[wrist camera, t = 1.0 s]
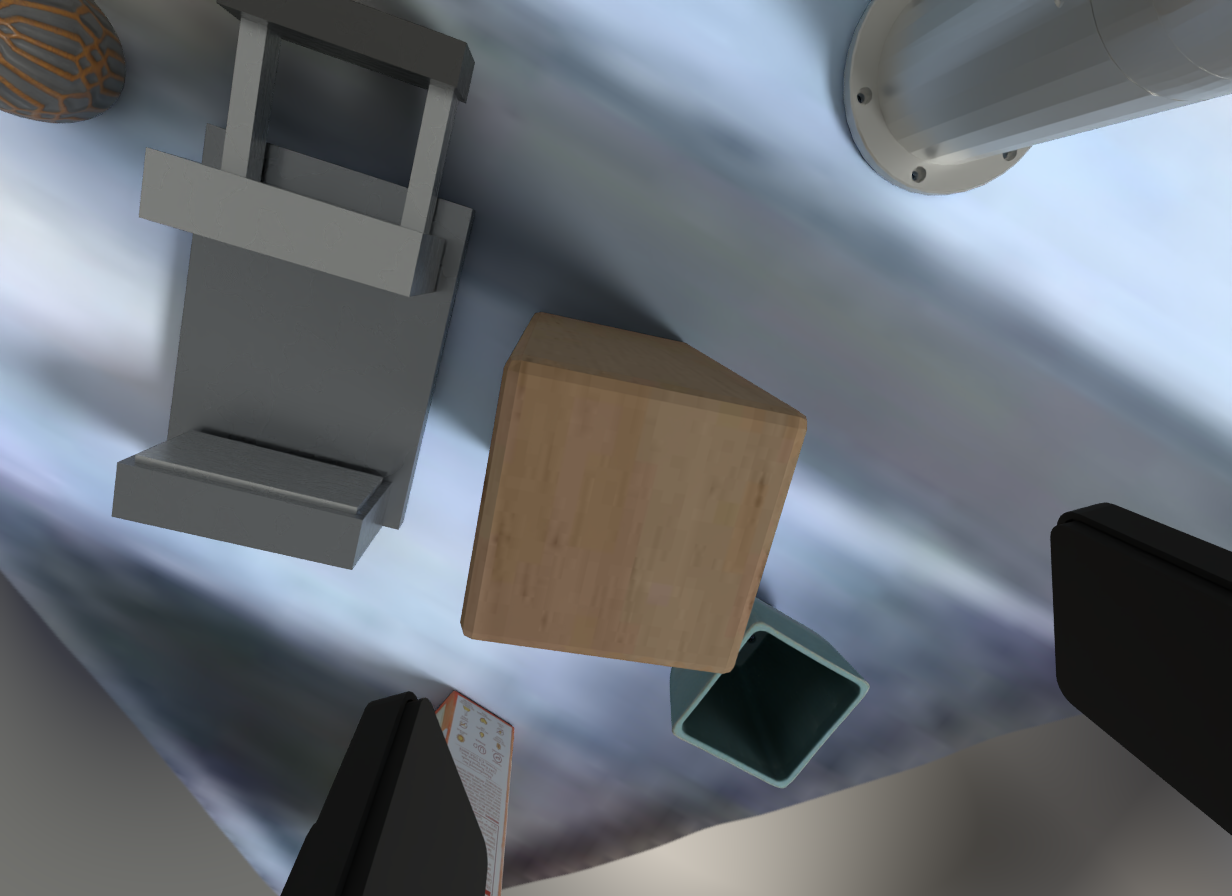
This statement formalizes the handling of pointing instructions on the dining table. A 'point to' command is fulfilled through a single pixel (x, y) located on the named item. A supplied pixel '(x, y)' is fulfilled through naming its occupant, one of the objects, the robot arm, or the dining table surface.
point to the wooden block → (626, 499)
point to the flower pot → (767, 699)
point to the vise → (296, 385)
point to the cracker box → (482, 772)
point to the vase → (58, 60)
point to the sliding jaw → (295, 223)
